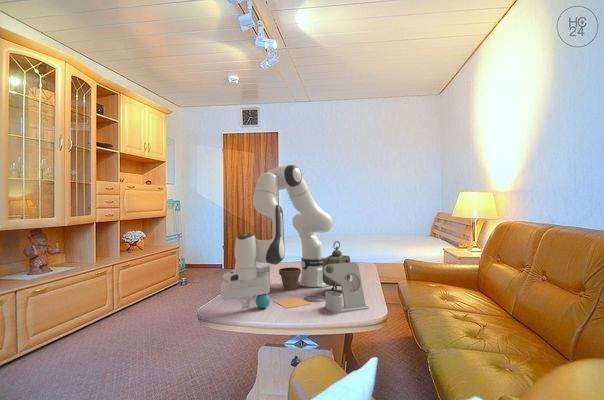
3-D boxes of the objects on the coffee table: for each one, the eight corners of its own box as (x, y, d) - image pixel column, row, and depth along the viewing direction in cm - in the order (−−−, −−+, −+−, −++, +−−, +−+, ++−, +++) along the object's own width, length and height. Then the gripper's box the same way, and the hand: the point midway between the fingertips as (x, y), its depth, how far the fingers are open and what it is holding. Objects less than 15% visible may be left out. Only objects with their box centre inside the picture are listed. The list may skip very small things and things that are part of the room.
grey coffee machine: (333, 313, 131) (333, 268, 132) (322, 306, 141) (322, 263, 141) (371, 308, 137) (370, 265, 138) (358, 302, 147) (358, 261, 147)
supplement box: (249, 291, 165) (249, 266, 165) (258, 288, 171) (258, 264, 172) (261, 293, 161) (261, 267, 162) (270, 290, 168) (270, 265, 168)
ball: (266, 304, 143) (266, 290, 143) (272, 308, 138) (272, 294, 138) (253, 307, 140) (253, 292, 140) (259, 310, 135) (259, 296, 135)
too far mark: (317, 294, 159) (317, 294, 159) (330, 299, 151) (330, 299, 151) (300, 297, 154) (300, 297, 154) (311, 303, 145) (311, 302, 145)
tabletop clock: (338, 296, 156) (338, 242, 157) (321, 293, 161) (321, 241, 161) (350, 289, 169) (350, 240, 169) (334, 287, 173) (334, 239, 174)
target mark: (297, 297, 154) (297, 296, 154) (310, 303, 144) (310, 303, 144) (273, 301, 148) (273, 300, 148) (286, 308, 138) (286, 308, 138)
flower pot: (276, 286, 174) (276, 267, 175) (297, 285, 178) (297, 266, 178) (282, 292, 163) (281, 271, 164) (303, 290, 167) (303, 270, 167)
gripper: (265, 269, 144) (266, 301, 143) (219, 275, 133) (219, 309, 133) (272, 271, 138) (272, 305, 138) (224, 278, 128) (224, 314, 128)
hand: (246, 307), depth 135 cm, fingers closed
